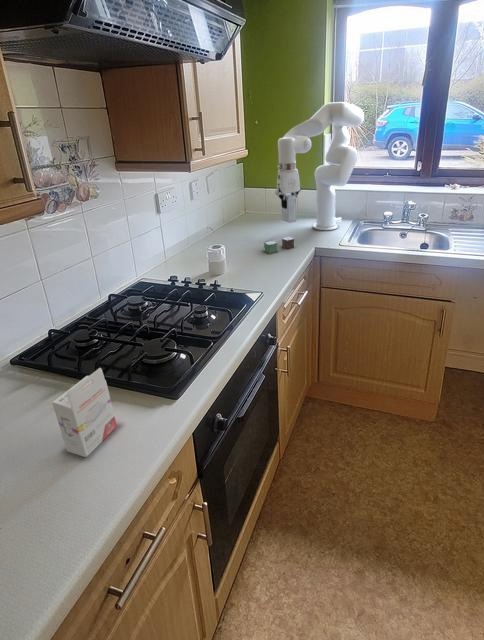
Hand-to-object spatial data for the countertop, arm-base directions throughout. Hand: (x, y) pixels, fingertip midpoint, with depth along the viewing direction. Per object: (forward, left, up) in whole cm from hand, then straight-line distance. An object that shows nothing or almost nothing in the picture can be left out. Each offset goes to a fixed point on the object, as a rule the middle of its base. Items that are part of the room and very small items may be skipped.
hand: (288, 206), depth 187 cm
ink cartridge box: (+104, +79, -16) cm, 132 cm away
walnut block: (+6, +8, -16) cm, 19 cm away
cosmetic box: (0, 0, -7) cm, 7 cm away
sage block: (+16, +8, -16) cm, 24 cm away
